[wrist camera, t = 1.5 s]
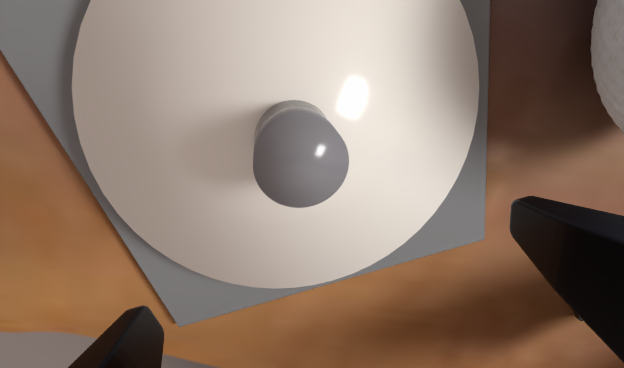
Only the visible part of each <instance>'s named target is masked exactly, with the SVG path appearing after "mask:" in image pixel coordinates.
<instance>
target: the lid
mask: <svg viewBox="0 0 624 368" xmlns="http://www.w3.org/2000/svg"><path fill="white" fill-rule="evenodd" d="M72 97H73V109H74V118H75V122H76V127H77V131H78V135H79V140H80V144H81V147H82V149H83V152H84V155H85V157H86V160H87V163H88V165H89V168H90V170H91V172H92V174H93V176H94V178H95V179H96V181H97V183H98V185H99V187H100V189H101V191H102V192H103V194H104V195H105V197H106V198H107V199H108V201H109V202H110V204H111V205H112V206H113V208H114V209H115V211H116V212H117V213H118V215H119V216H120V217H121V218H122V219H123V220H124V221H125V222H126V223H127V224H128V225H129V226H130V227H131V229H132V230H133V231H134V232H135V233H137V234H138V235H139V236H140V237H141V238H142V239H144V240H145V241H146V242H147V243H148V244H149V245H151V246H152V247H153V248H155V249H156V250H158V251H159V252H161V253H162V254H163V255H165V256H166V257H168V258H169V259H171V260H173V261H175V262H177V263H178V264H180V265H182V266H184V267H186V268H188V269H190V270H192V271H195V272H197V273H200V274H202V275H205V276H207V277H210V278H213V279H216V280H220V281H224V282H227V283H231V284H236V285H242V286H248V287H257V288H273V289H275V288H296V287H303V286H311V285H316V284H320V283H325V282H329V281H333V280H336V279H339V278H342V277H345V276H347V275H350V274H353V273H355V272H357V271H360V270H362V269H364V268H366V267H368V266H370V265H372V264H374V263H376V262H377V261H379V260H381V259H382V258H384V257H386V256H387V255H389V254H390V253H392V252H393V251H394V250H396V249H397V248H399V247H400V246H401V245H403V244H404V243H405V242H406V241H407V240H409V239H410V238H411V237H412V236H413V235H414V234H415V233H416V232H417V231H419V230H420V229H421V227H422V226H423V225H424V224H425V223H426V222H427V221H428V220H429V219H430V218H431V216H432V215H433V214H434V213H435V212H436V210H437V209H438V207H439V206H440V205H441V203H442V202H443V201H444V199H445V198H446V196H447V195H448V193H449V191H450V190H451V188H452V186H453V184H454V183H455V181H456V179H457V177H458V175H459V173H460V171H461V168H462V166H463V164H464V162H465V159H466V157H467V154H468V151H469V147H470V144H471V141H472V138H473V134H474V129H475V124H476V118H477V113H478V100H479V72H478V60H477V54H476V49H475V44H474V38H473V34H472V31H471V28H470V25H469V22H468V19H467V16H466V13H465V10H464V8H463V6H462V4H461V2H460V0H91V1H90V3H89V6H88V8H87V11H86V13H85V16H84V18H83V21H82V23H81V26H80V31H79V35H78V39H77V44H76V48H75V53H74V59H73V74H72Z"/></svg>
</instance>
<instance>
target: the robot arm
mask: <svg viewBox="0 0 624 368" xmlns="http://www.w3.org/2000/svg"><path fill="white" fill-rule="evenodd" d="M510 232H511V235H512V236H513V238H514V239H515V241H516V242H517V243H518V244H519V246H520V247H521V248H522V250H523V251H524V252H525V253H526V255H527V256H528V257H529V258H530V260H531V261H532V262H533V264H534V265H535V266H536V267H537V269H538V270H539V271H540V272H541V274H542V275H543V276H544V278H545V279H546V280H547V281H548V283H549V284H550V285H551V286H552V287H553V288H554V290H555V291H556V292H557V293H558V294H559V295H560V296H561V297H562V298H563V300H564V301H565V302H566V303H567V304H568V305H569V306H570V307H571V308H572V309H573V310H574V311H575V317H576V318H577V319H579V320H580V321H584V322H585V323H586V324H587V325H588V326H589V327H590V328H591V329H592V330H593V331H594V332H595V333H596V334H597V335H598V336H599V337H600V338H601V339H602V340H603V342H604V343H605V344H606V345H607V346H608V347H609V348H610V349H611V350H612V351H613V352H614V353H615V354H616V355H617V356H618V357H619V358H620V359H621V360H622V361H623V363H624V216H621V215H617V214H612V213H608V212H603V211H598V210H594V209H589V208H585V207H580V206H576V205H571V204H567V203H562V202H558V201H553V200H548V199H544V198H539V197H535V196H527V197H523V198H520V199H516V200H514V201H513V202H512V204H511V214H510ZM163 344H164V331H163V328H162V326H161V325H160V323H159V322H158V320H157V319H156V317H155V316H154V314H153V313H152V311H151V310H150V309H149V307H147V306H139V307H135V308H132V309H129V310H127V311H125V312H124V313H123V314H122V315H121V316H120V317H119V318H118V319H117V320H116V321H115V322H114V323H113V324H112V325H111V326H110V327H109V328H108V329H107V330H106V331H105V332H104V333H103V334H102V335H101V336H100V337H99V338H98V339H97V340H96V341H95V342H94V343H93V344H92V345H91V346H90V347H89V348H88V349H87V350H86V351H84V353H82V354H81V355H80V356H79V357H78V358H77V359H76V360H75V361H74V362H73V363H72V364H71V365H70V366H69V367H68V368H161V362H162V353H163Z"/></svg>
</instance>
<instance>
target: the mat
mask: <svg viewBox="0 0 624 368" xmlns="http://www.w3.org/2000/svg"><path fill="white" fill-rule="evenodd" d="M90 1H91V0H0V50H1V52H2V53H3V55H4V56H5V58H6V59H7V61H8V63H9V64H10V66H11V67H12V69H13V70H14V72H15V73H16V75H17V77H18V78H19V80H20V81H21V83H22V84H23V86H24V87H25V89H26V90H27V92H28V94H29V95H30V97H31V98H32V100H33V101H34V103H35V104H36V106H37V108H38V109H39V111H40V112H41V114H42V115H43V117H44V118H45V120H46V122H47V123H48V125H49V126H50V128H51V129H52V131H53V132H54V134H55V135H56V137H57V139H58V140H59V142H60V143H61V145H62V146H63V148H64V149H65V151H66V153H67V154H68V156H69V157H70V159H71V160H72V162H73V163H74V165H75V167H76V168H77V170H78V171H79V173H80V174H81V176H82V177H83V179H84V180H85V182H86V184H87V185H88V187H89V188H90V190H91V191H92V193H93V194H94V196H95V198H96V199H97V201H98V202H99V204H100V205H101V207H102V208H103V210H104V212H105V213H106V215H107V216H108V218H109V219H110V221H111V222H112V224H113V225H114V227H115V229H116V230H117V232H118V233H119V235H120V236H121V238H122V239H123V241H124V243H125V244H126V246H127V247H128V249H129V250H130V252H131V253H132V255H133V257H134V258H135V260H136V261H137V263H138V264H139V266H140V267H141V269H142V270H143V272H144V274H145V275H146V277H147V278H148V280H149V281H150V283H151V284H152V286H153V288H154V289H155V291H156V292H157V294H158V295H159V297H160V298H161V300H162V302H163V303H164V305H165V306H166V308H167V309H168V311H169V312H170V314H171V316H172V317H173V319H174V320H175V322H176V323H177V325H178V326H179V327H181V326H184V325H188V324H191V323H195V322H198V321H202V320H205V319H209V318H212V317H216V316H219V315H223V314H226V313H230V312H233V311H237V310H240V309H244V308H247V307H251V306H254V305H258V304H261V303H265V302H268V301H271V300H275V299H278V298H282V297H285V296H289V295H292V294H296V293H299V292H303V291H306V290H310V289H313V288H317V287H320V286H324V285H327V284H331V283H334V282H338V281H341V280H345V279H348V278H352V277H355V276H359V275H362V274H365V273H369V272H372V271H376V270H379V269H383V268H386V267H390V266H393V265H397V264H400V263H404V262H407V261H411V260H414V259H418V258H421V257H425V256H428V255H432V254H435V253H439V252H442V251H446V250H449V249H453V248H456V247H460V246H463V245H466V244H470V243H473V242H477V241H480V240H484V236H485V194H486V153H487V112H488V70H489V29H490V0H460V2H461V4H462V6H463V8H464V10H465V13H466V16H467V19H468V22H469V25H470V28H471V31H472V34H473V38H474V44H475V49H476V54H477V60H478V72H479V100H478V113H477V118H476V124H475V129H474V134H473V138H472V141H471V144H470V147H469V151H468V154H467V157H466V159H465V162H464V164H463V166H462V168H461V171H460V173H459V175H458V177H457V179H456V181H455V183H454V184H453V186H452V188H451V190H450V191H449V193H448V195H447V196H446V198H445V199H444V201H443V202H442V203H441V205H440V206H439V207H438V209H437V210H436V212H435V213H434V214H433V215H432V216H431V218H430V219H429V220H428V221H427V222H426V223H425V224H424V225H423V226H422V227H421V229H420V230H419V231H417V232H416V233H415V234H414V235H413V236H412V237H411V238H410V239H409V240H407V241H406V242H405V243H404V244H403V245H401V246H400V247H399V248H397V249H396V250H394V251H393V252H392V253H390V254H389V255H387V256H386V257H384V258H382V259H381V260H379V261H377V262H376V263H374V264H372V265H370V266H368V267H366V268H364V269H362V270H360V271H357V272H355V273H353V274H350V275H347V276H345V277H342V278H339V279H336V280H333V281H329V282H325V283H320V284H316V285H311V286H303V287H296V288H275V289H273V288H257V287H248V286H242V285H236V284H231V283H227V282H224V281H220V280H216V279H213V278H210V277H207V276H205V275H202V274H200V273H197V272H195V271H192V270H190V269H188V268H186V267H184V266H182V265H180V264H178V263H177V262H175V261H173V260H171V259H169V258H168V257H166V256H165V255H163V254H162V253H161V252H159V251H158V250H156V249H155V248H153V247H152V246H151V245H149V244H148V243H147V242H146V241H145V240H144V239H142V238H141V237H140V236H139V235H138V234H137V233H135V232H134V231H133V230H132V229H131V227H130V226H129V225H128V224H127V223H126V222H125V221H124V220H123V219H122V218H121V217H120V216H119V215H118V213H117V212H116V211H115V209H114V208H113V206H112V205H111V204H110V202H109V201H108V199H107V198H106V197H105V195H104V194H103V192H102V191H101V189H100V187H99V185H98V183H97V181H96V179H95V178H94V176H93V174H92V172H91V170H90V168H89V165H88V163H87V160H86V157H85V155H84V152H83V149H82V147H81V144H80V140H79V135H78V131H77V127H76V122H75V118H74V109H73V97H72V74H73V59H74V53H75V48H76V44H77V39H78V35H79V31H80V26H81V23H82V21H83V18H84V16H85V13H86V11H87V8H88V6H89V3H90Z"/></svg>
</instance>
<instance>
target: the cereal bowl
mask: <svg viewBox="0 0 624 368" xmlns="http://www.w3.org/2000/svg"><path fill="white" fill-rule="evenodd" d="M591 34H592V38H591V43H592V44H591V48H590V49H591V56H592V63H591V65H592V67H593V72H594V80H595V82H596V86H597V92H598V93H599V95H600V96H601V102H602V104H603V105H604V106H605V108H606V110H607V113H608V114H609V115H610V116H611V118H612V119H613V121H614V123H615V124H616V125H617V126H618V127H619V128H620V129H621V130H622V132H623V134H624V0H597V6H596V8H595V11H594V17H593V27H592V31H591Z"/></svg>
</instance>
